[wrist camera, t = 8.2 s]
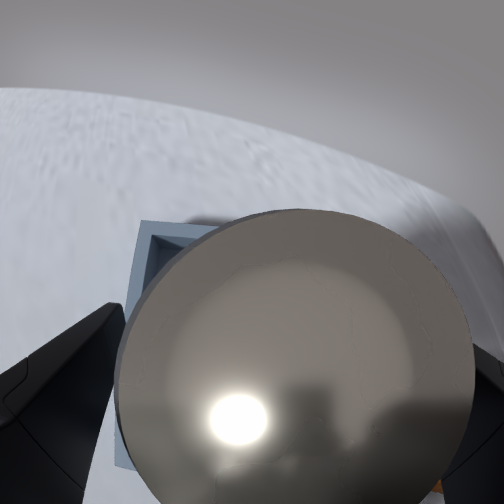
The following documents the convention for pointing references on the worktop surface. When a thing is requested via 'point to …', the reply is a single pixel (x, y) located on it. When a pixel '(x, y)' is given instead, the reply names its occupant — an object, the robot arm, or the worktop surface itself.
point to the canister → (295, 367)
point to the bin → (144, 270)
